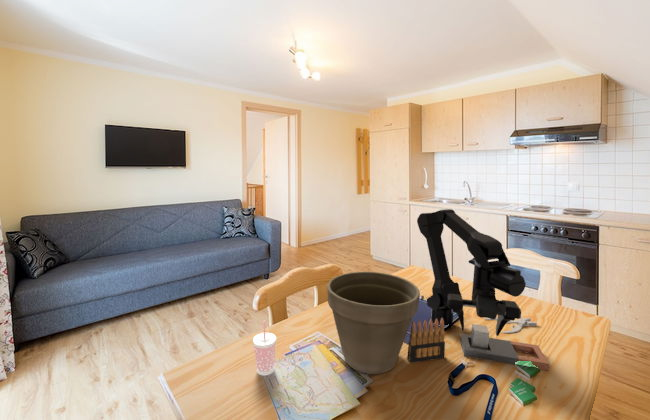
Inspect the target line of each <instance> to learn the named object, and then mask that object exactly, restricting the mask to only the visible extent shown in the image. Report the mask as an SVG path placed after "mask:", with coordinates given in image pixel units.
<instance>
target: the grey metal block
mask: <svg viewBox="0 0 650 420" xmlns="http://www.w3.org/2000/svg"><path fill="white" fill-rule="evenodd" d="M489 331H490V330H489V328H488V326H487V325H484V324H483V325H482V324H474V323H472V324H471V331H470V332H471V333H470V335H471V341H470V347H471V348H477V349H483V350H488V341H489V338H490V332H489Z"/></svg>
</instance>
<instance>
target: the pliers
mask: <svg viewBox="0 0 650 420" xmlns="http://www.w3.org/2000/svg"><path fill="white" fill-rule="evenodd" d="M497 318H498V317H496V319H491V318H485V317H484V320H485V321H497ZM531 320H532V319H531V317H521V318H520V319H517V320H510V321H508V322H507V323H506V324H509V325H511V324H512V325H511V327H510V328H511V329H509V330H504V331H502V332H501V333H502V334H513V333H514V334H515V333H518V332H520V331H521V330H522V328H523V327H537V325H538V324H537V323H538V322H537V321H531ZM514 324H516V325H515V327H514Z"/></svg>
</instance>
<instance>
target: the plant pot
mask: <svg viewBox="0 0 650 420" xmlns="http://www.w3.org/2000/svg"><path fill="white" fill-rule="evenodd" d="M326 285H327V286H326V292H327V303H328V306H329V308H330V309H331V310H332V315H333V318H334V319H333V320H334V322H335V327H336V331H337V332H336V333H337V335H338V339H339V343H340V347H341V350H342V354H343V358H344V361H345V363H346V364H347V365H348V366H349V367H351V368H352V369H353V370H355V371H357V372H359V373H364V374H368V375H378V374H384V373H387V372H389V371H390V370H392V369H393V368H394V367H395V365H396V363H397V361H398V358H399V355H400V354H401V353H400V352H401V350H402V347H403V345H404V342H405V339H406V336H407V334H408V331H409V328H410V326H411V324H412V320H413V317H414V316H415V315H416V314H417V312H418V309H419V305H420V304H419V303H420V295H421V293H420V292H421V291H420V290H419V288H418V286H417V285H415V284H414V283H413V282H412V281H410V280H408V279H406V278H403V277H401V276H397V275H394V274H390V273H386V272H385V273H384V272H377V271H357V272H356V271H354V272H353V271H352V272H347V273H343V274H340V275H337V276H334V277H333V278H332V279H330V280H329V281H328V283H327V284H326Z"/></svg>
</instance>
